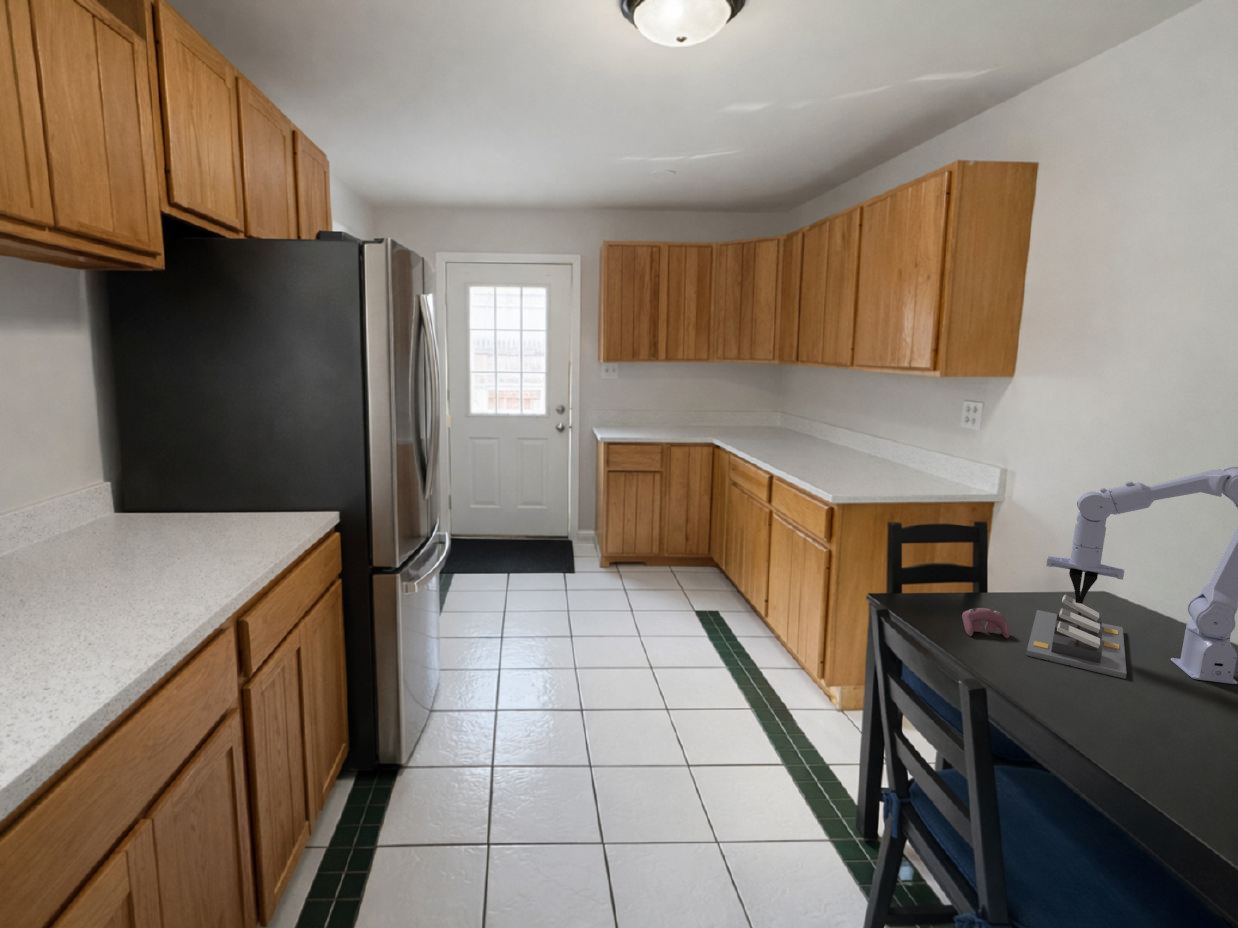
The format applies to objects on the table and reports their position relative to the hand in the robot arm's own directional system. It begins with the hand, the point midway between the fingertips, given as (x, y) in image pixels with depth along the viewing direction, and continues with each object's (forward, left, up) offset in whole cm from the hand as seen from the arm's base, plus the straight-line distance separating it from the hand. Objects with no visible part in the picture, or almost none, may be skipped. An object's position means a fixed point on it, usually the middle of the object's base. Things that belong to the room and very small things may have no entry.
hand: (1079, 602), depth 157 cm
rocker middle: (+1, -1, -5) cm, 5 cm away
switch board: (+1, -1, -11) cm, 11 cm away
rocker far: (+11, -5, -5) cm, 13 cm away
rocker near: (-8, +2, -5) cm, 10 cm away
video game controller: (+1, +19, -11) cm, 21 cm away
